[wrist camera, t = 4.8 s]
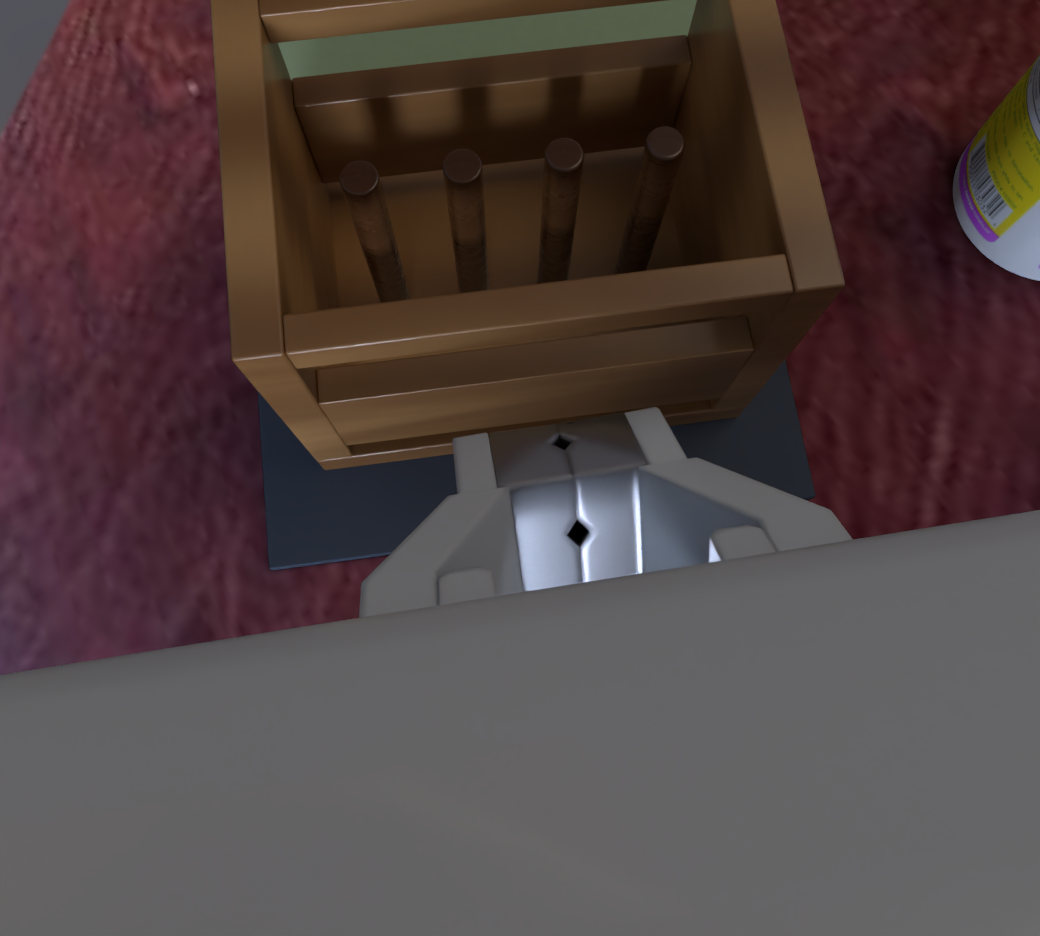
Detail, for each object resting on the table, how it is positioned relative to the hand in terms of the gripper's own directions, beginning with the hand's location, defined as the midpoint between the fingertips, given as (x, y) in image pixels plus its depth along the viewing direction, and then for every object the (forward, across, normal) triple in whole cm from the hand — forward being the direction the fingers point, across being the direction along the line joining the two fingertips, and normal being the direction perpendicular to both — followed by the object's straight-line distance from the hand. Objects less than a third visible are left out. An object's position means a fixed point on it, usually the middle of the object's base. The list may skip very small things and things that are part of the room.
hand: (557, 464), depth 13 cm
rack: (+18, -1, +4) cm, 19 cm away
